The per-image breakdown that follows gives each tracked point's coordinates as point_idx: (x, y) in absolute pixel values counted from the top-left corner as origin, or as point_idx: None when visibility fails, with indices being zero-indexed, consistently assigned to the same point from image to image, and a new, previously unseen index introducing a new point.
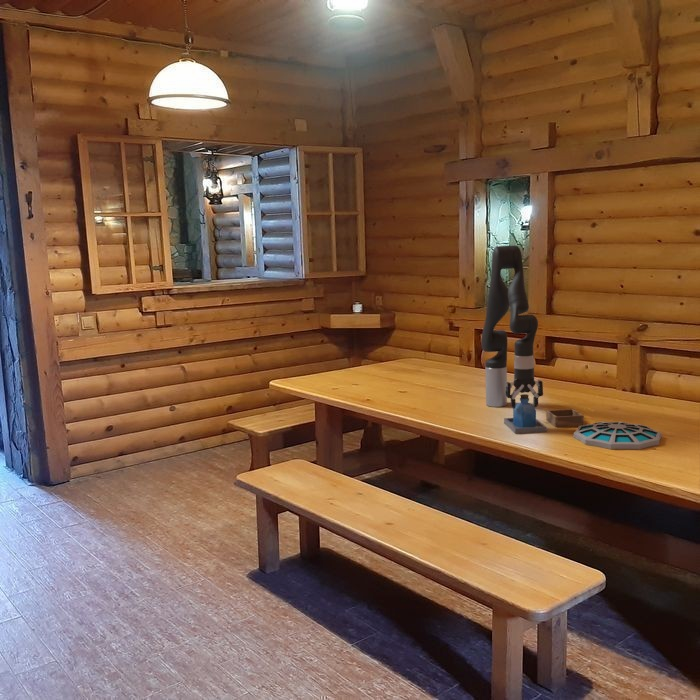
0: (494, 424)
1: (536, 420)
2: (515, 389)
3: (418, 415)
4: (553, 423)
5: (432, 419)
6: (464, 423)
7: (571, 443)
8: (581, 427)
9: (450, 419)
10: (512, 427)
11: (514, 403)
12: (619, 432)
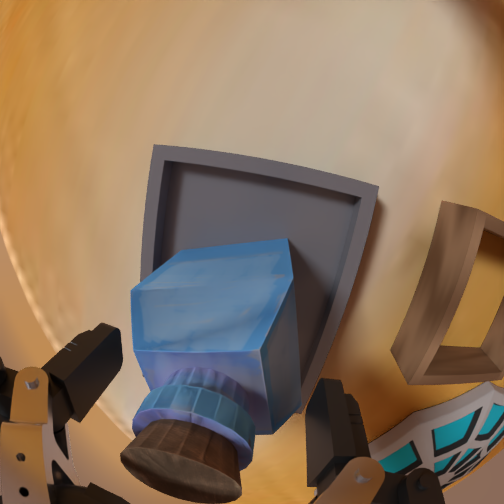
0: (112, 157)
1: (336, 296)
2: (17, 468)
3: (10, 10)
4: (407, 328)
5: (3, 49)
6: (30, 108)
7: (289, 481)
8: (408, 441)
9: (29, 46)
10: None
11: (92, 392)
12: None
